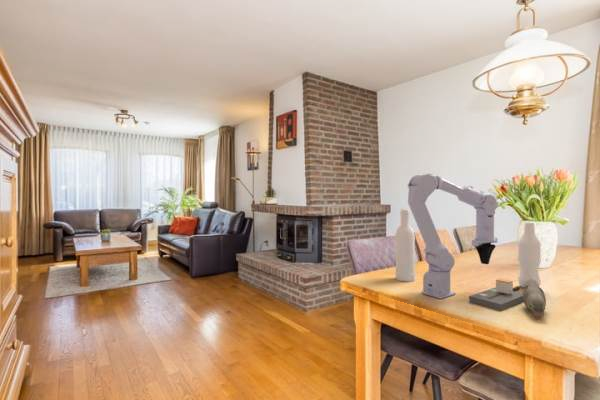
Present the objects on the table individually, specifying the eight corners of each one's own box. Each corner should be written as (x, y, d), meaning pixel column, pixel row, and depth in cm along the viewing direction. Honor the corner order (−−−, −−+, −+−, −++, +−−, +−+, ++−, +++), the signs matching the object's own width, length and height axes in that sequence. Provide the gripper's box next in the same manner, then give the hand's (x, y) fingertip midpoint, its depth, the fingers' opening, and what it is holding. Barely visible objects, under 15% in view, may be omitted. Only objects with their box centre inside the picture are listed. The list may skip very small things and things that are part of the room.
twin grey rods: (518, 298, 112) (518, 295, 112) (501, 294, 116) (501, 291, 116) (533, 292, 118) (533, 289, 118) (517, 288, 123) (517, 285, 123)
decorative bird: (526, 318, 94) (526, 291, 94) (520, 301, 109) (520, 277, 109) (550, 322, 91) (550, 294, 91) (541, 304, 106) (542, 279, 106)
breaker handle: (508, 294, 109) (508, 282, 108) (495, 291, 112) (495, 279, 112) (512, 292, 110) (512, 280, 110) (500, 289, 114) (500, 278, 113)
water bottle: (535, 285, 126) (536, 222, 126) (544, 291, 120) (544, 223, 119) (514, 284, 128) (515, 222, 128) (522, 289, 122) (522, 223, 121)
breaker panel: (501, 310, 100) (501, 304, 100) (469, 301, 108) (469, 295, 108) (527, 300, 110) (527, 293, 110) (496, 292, 118) (496, 286, 118)
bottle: (396, 276, 142) (396, 208, 142) (415, 277, 140) (415, 208, 139) (395, 280, 135) (394, 209, 134) (414, 282, 132) (414, 209, 132)
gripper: (486, 229, 112) (485, 268, 112) (506, 226, 120) (506, 263, 120) (466, 227, 118) (466, 264, 118) (486, 225, 126) (486, 259, 126)
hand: (484, 263), depth 119 cm, fingers closed
